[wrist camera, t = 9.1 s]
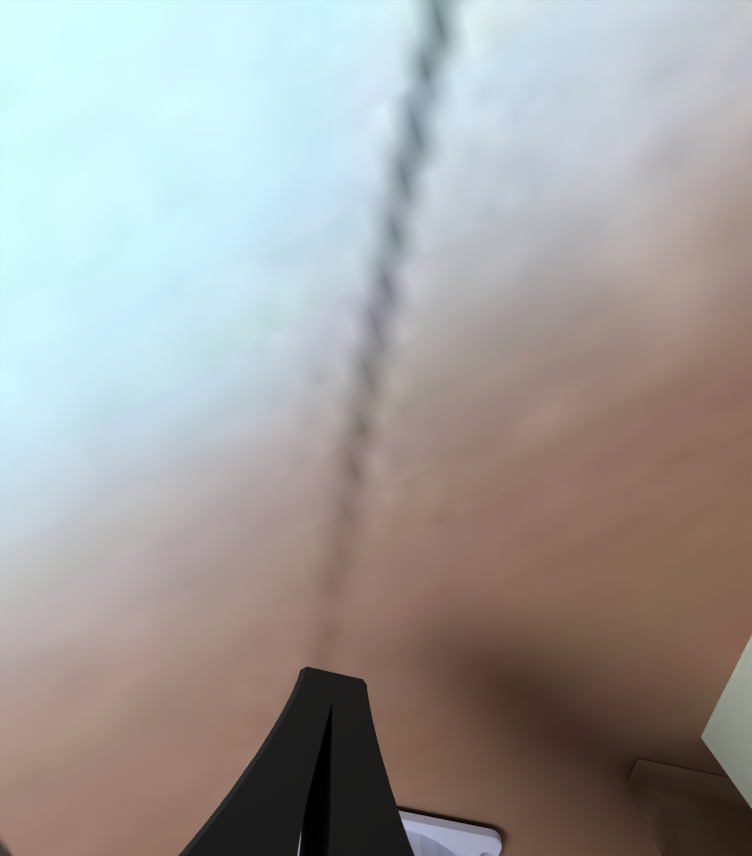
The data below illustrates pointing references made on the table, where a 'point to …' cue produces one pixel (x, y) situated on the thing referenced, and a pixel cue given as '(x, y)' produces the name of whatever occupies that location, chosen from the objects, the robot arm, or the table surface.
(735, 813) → the wooden tray
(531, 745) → the table surface
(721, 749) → the t block
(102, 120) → the table surface
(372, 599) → the table surface
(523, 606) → the table surface
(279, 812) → the robot arm
